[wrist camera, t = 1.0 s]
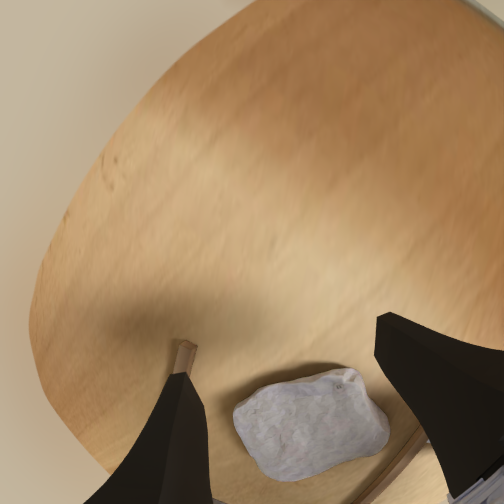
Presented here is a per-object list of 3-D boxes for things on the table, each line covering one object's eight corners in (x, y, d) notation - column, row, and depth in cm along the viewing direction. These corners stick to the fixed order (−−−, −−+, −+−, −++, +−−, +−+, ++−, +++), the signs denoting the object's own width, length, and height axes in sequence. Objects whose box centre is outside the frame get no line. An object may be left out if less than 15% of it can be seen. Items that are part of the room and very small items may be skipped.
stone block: (236, 391, 25) (281, 468, 22) (213, 407, 20) (267, 494, 18) (349, 338, 22) (392, 426, 19) (348, 348, 18) (398, 450, 15)
